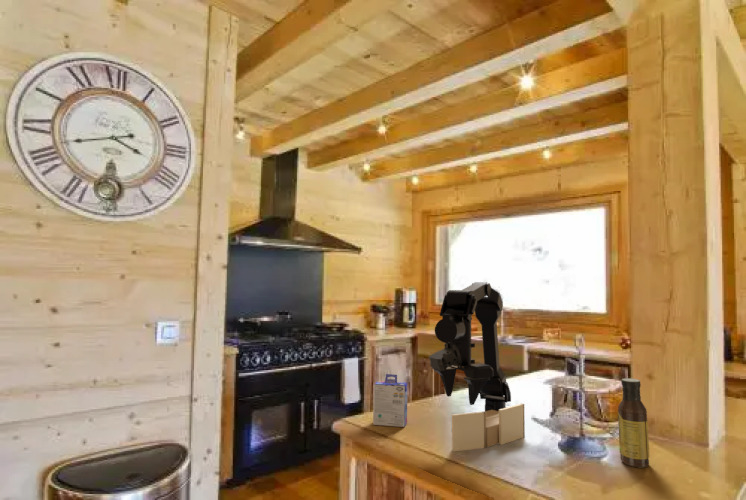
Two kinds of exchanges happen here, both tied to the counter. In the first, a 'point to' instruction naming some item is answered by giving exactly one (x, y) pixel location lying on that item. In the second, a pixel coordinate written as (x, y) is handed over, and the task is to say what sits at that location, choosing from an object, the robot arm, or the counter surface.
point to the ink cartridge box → (390, 402)
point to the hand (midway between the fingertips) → (460, 400)
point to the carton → (492, 427)
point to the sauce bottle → (633, 426)
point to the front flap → (468, 431)
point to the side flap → (511, 423)
